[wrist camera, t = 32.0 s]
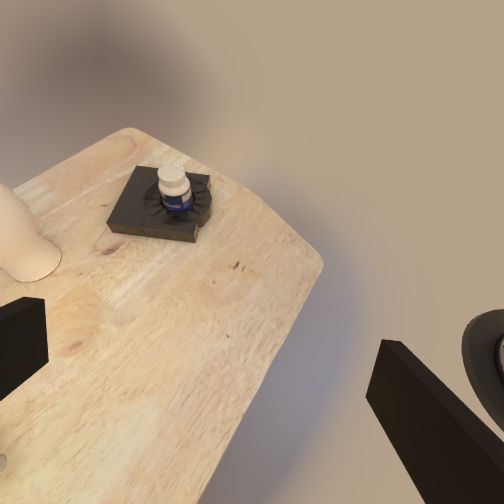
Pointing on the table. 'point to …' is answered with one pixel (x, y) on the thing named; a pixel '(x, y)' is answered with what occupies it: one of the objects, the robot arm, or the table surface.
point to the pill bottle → (174, 188)
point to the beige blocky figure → (2, 462)
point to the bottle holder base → (160, 208)
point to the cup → (23, 241)
